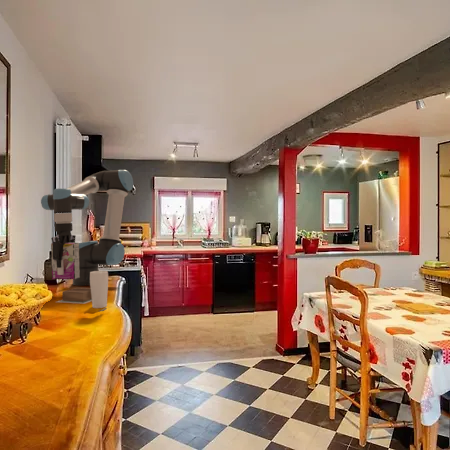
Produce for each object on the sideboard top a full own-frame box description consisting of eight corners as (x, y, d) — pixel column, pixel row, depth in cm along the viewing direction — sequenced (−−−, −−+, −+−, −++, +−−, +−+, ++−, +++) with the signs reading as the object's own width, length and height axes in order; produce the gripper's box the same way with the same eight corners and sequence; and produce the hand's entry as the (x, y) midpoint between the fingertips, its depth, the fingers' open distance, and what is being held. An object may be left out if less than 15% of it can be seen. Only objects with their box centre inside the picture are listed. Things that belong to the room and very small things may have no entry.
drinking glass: (89, 309, 152) (88, 271, 151) (107, 307, 155) (106, 270, 154) (91, 313, 146) (91, 273, 145) (110, 310, 149) (109, 272, 148)
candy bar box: (51, 279, 174) (50, 243, 174) (57, 277, 179) (56, 242, 178) (75, 279, 173) (73, 243, 172) (80, 277, 178) (79, 242, 177)
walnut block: (77, 296, 170) (77, 287, 170) (97, 297, 168) (97, 288, 168) (62, 301, 161) (62, 291, 161) (83, 302, 158) (83, 292, 158)
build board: (76, 298, 173) (76, 294, 173) (104, 299, 169) (104, 296, 169) (55, 305, 159) (55, 301, 159) (84, 307, 156) (84, 303, 156)
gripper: (69, 222, 185) (71, 270, 186) (41, 223, 167) (43, 276, 168) (83, 221, 183) (85, 270, 184) (56, 223, 165) (58, 277, 166)
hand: (65, 273), depth 176 cm, fingers closed on candy bar box, 5 cm apart
